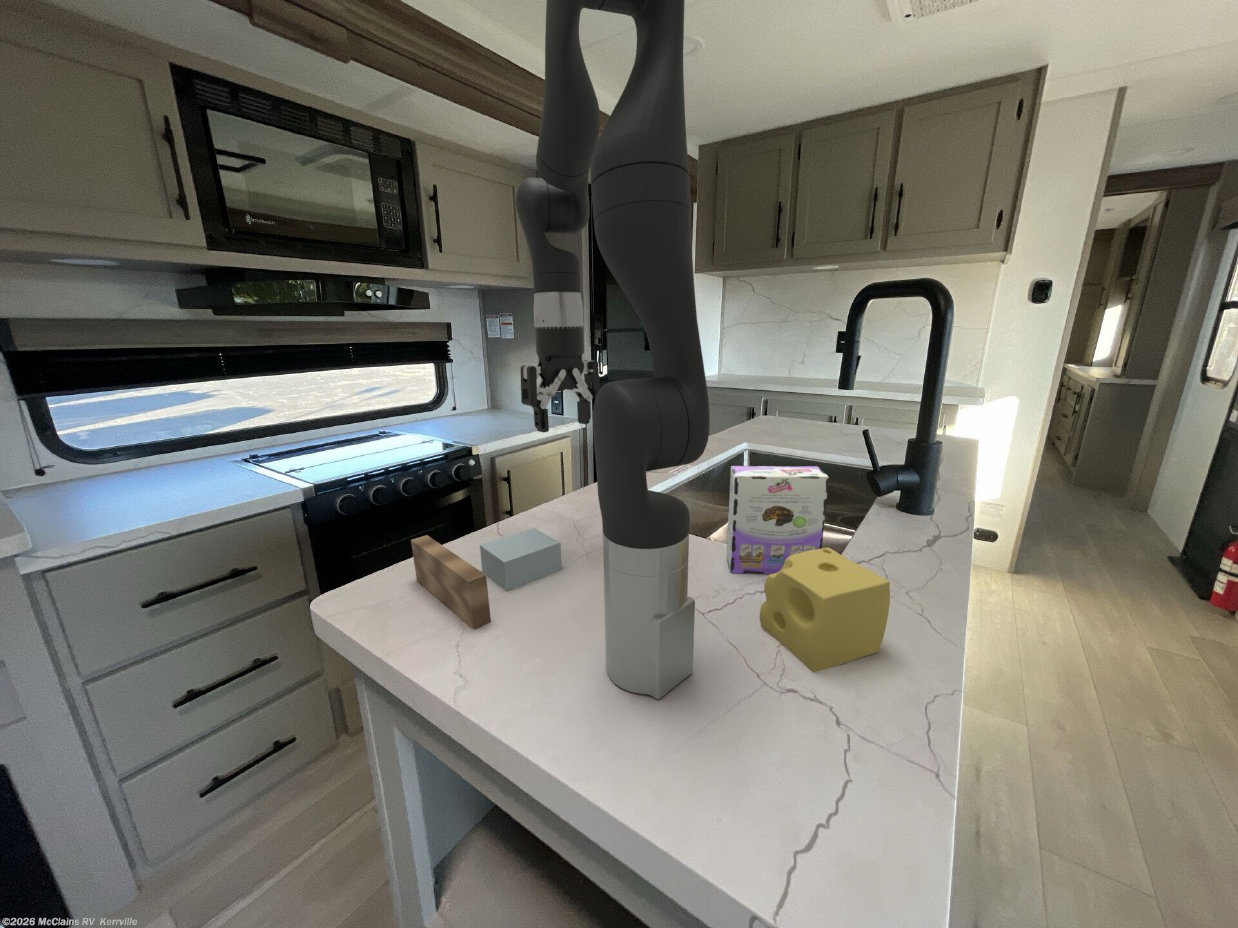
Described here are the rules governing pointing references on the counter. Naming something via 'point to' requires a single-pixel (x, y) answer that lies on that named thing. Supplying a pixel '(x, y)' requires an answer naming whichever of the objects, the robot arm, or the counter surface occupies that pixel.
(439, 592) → the walnut board
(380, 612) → the counter surface
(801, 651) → the cheese
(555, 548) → the grey block
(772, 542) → the candy box
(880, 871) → the counter surface
